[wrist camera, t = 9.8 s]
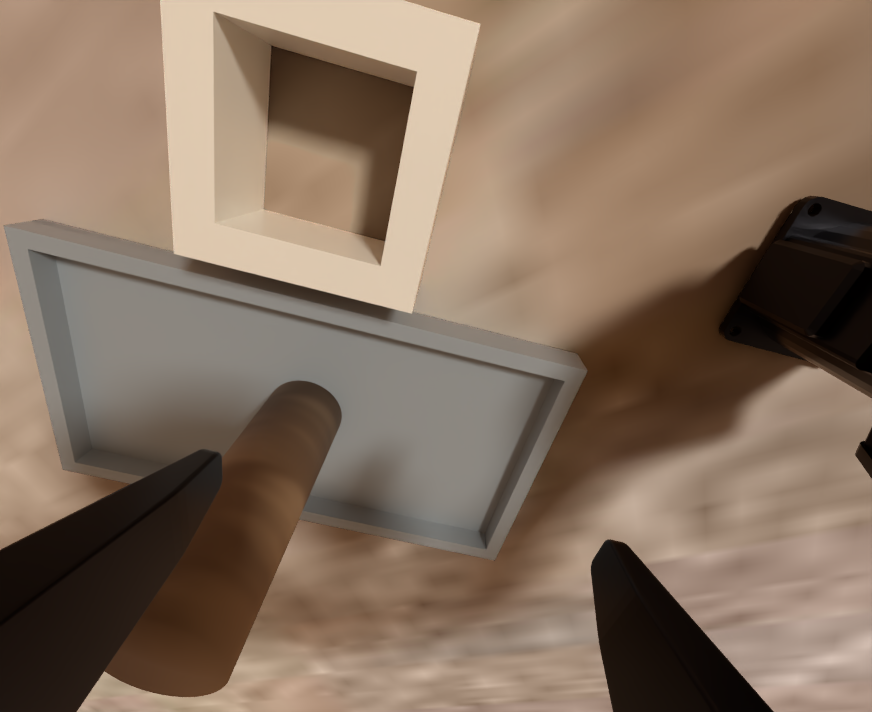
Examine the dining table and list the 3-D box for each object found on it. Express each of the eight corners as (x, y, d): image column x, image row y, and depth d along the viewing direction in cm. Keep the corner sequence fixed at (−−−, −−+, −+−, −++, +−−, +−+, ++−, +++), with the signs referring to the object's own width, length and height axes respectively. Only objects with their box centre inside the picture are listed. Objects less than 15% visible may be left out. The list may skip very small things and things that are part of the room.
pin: (346, 390, 21) (230, 635, 10) (336, 447, 23) (229, 706, 12) (271, 372, 21) (72, 604, 10) (267, 432, 23) (94, 682, 12)
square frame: (474, 55, 15) (480, 23, 11) (420, 283, 19) (412, 313, 15) (231, -18, 14) (156, -76, 11) (229, 234, 18) (173, 253, 15)
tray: (577, 353, 20) (587, 370, 18) (492, 535, 26) (494, 560, 25) (43, 219, 18) (3, 225, 17) (88, 449, 25) (62, 469, 23)
